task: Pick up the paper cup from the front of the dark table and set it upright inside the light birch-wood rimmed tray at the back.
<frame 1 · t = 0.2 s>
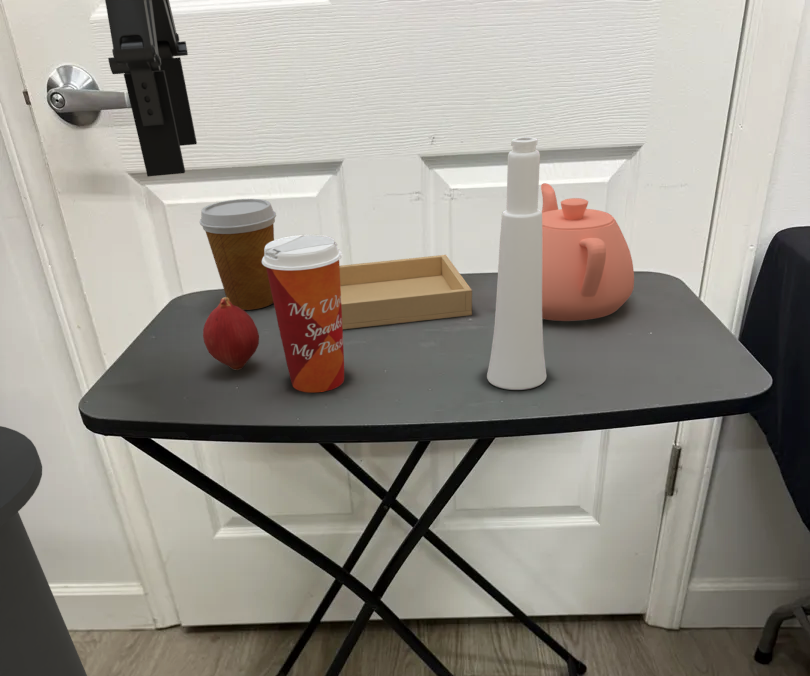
hand: (174, 158, 63), 23 cm above the table, tool pointing down, fingers open, 13 cm apart
cosmetic bottle: (516, 379, 79), on the table
onion: (237, 370, 85), on the table
tray: (384, 303, 100), on the table
teapot: (565, 306, 96), on the table
disposable coffee cup: (252, 303, 103), on the table
paper cup: (318, 382, 81), on the table
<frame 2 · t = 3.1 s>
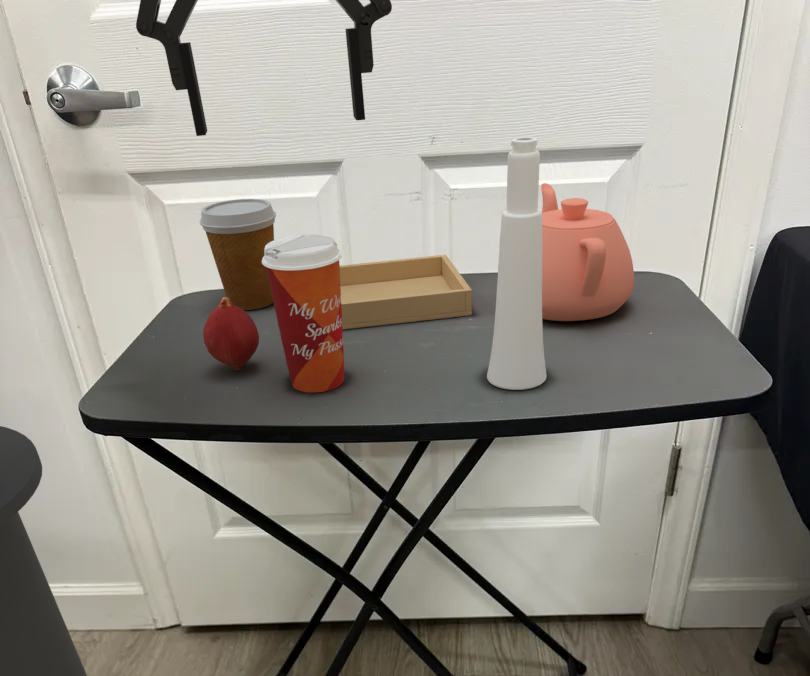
hand: (281, 126, 67), 24 cm above the table, tool pointing down, fingers open, 13 cm apart
nothing on the table moved.
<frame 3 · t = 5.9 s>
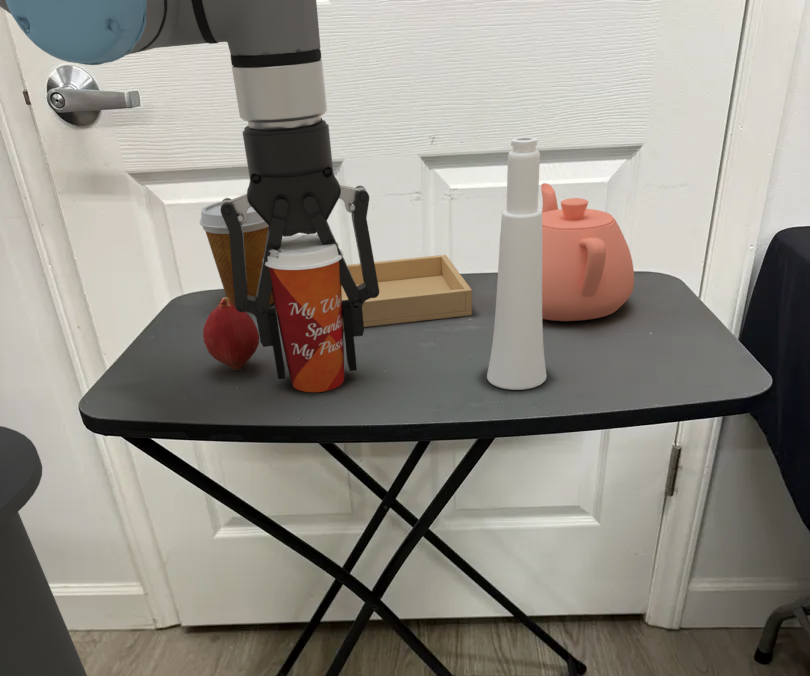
hand: (316, 369, 80), 1 cm above the table, tool pointing down, fingers closed on paper cup, 7 cm apart
paper cup: (318, 382, 81), on the table, touching gripper
everything else where it was.
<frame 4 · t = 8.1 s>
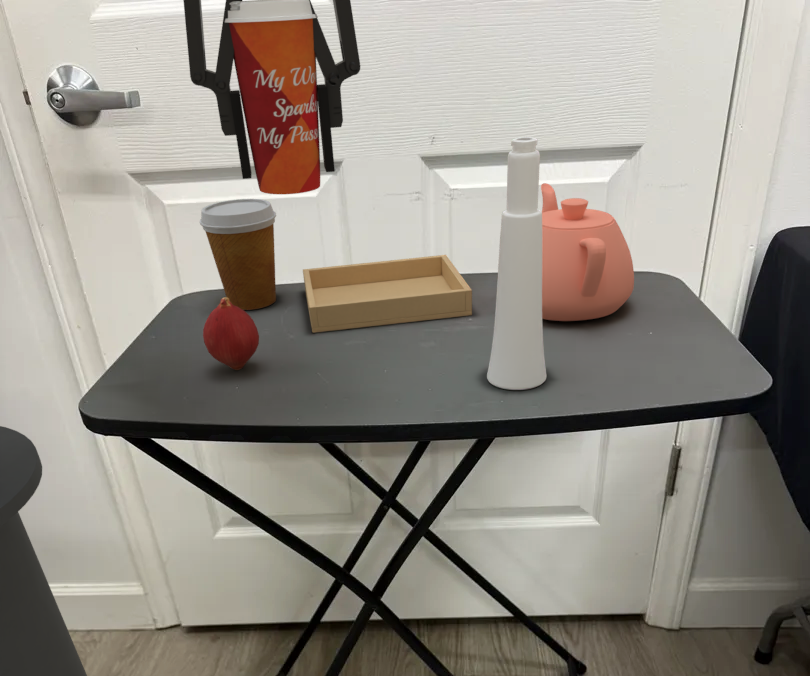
hand: (288, 171, 69), 20 cm above the table, tool pointing down, fingers closed on paper cup, 7 cm apart
paper cup: (290, 189, 70), point 19 cm above the table, touching gripper
everything else where it was.
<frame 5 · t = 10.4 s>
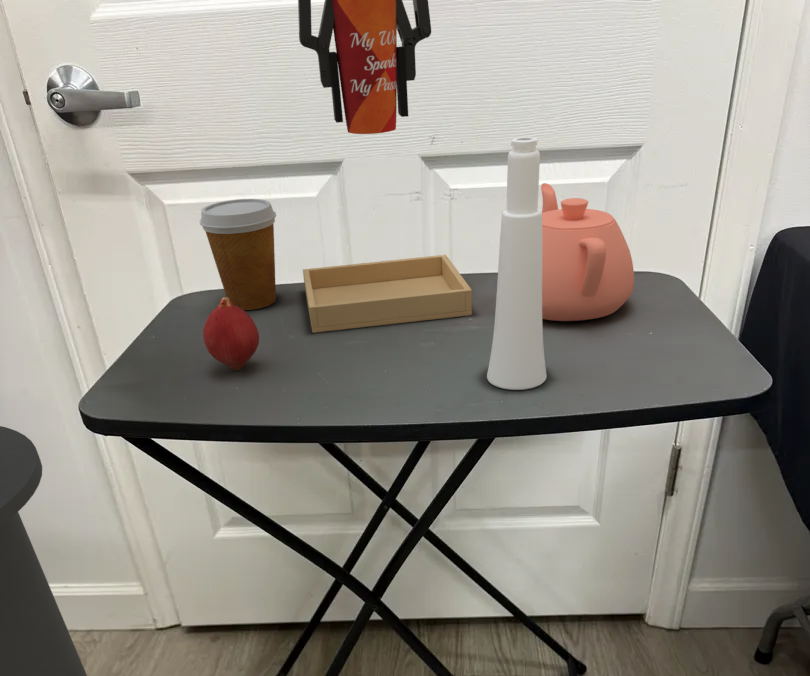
hand: (371, 117, 87), 21 cm above the table, tool pointing down, fingers closed on paper cup, 7 cm apart
paper cup: (372, 131, 88), point 20 cm above the table, touching gripper
everything else where it was.
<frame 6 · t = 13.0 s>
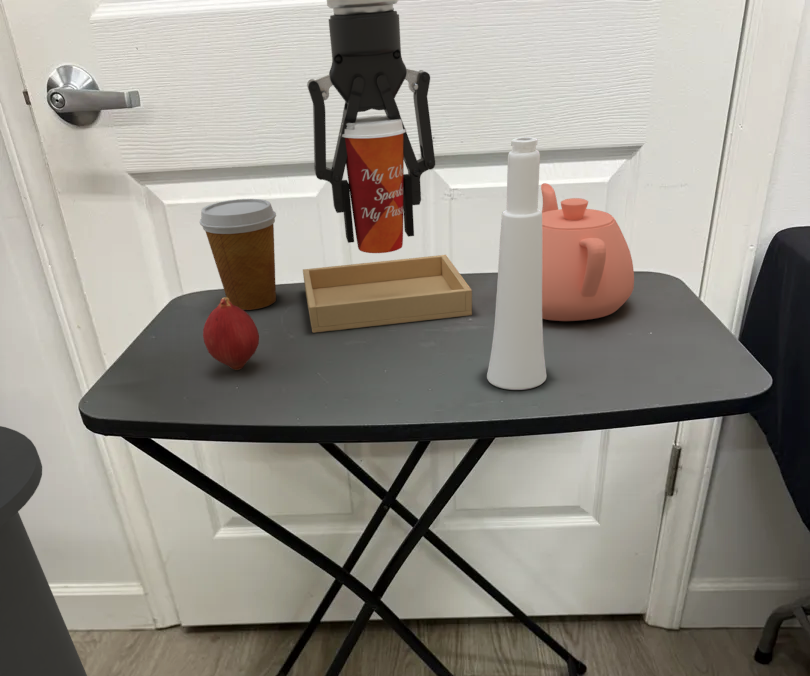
hand: (379, 236, 95), 8 cm above the table, tool pointing down, fingers closed on paper cup, 7 cm apart
paper cup: (380, 248, 96), point 7 cm above the table, touching gripper
everything else where it was.
when the fingers open (2 cm above the table, at t = 14.9 s): paper cup stays where it is, resting on tray.
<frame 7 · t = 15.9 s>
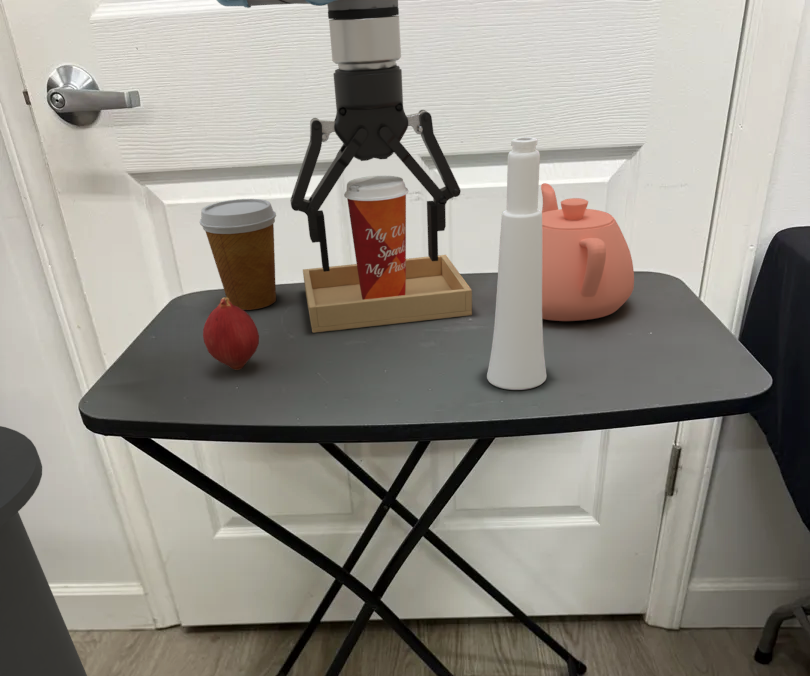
hand: (379, 263, 97), 5 cm above the table, tool pointing down, fingers open, 13 cm apart
paper cup: (384, 300, 99), resting on tray
everything else where it was.
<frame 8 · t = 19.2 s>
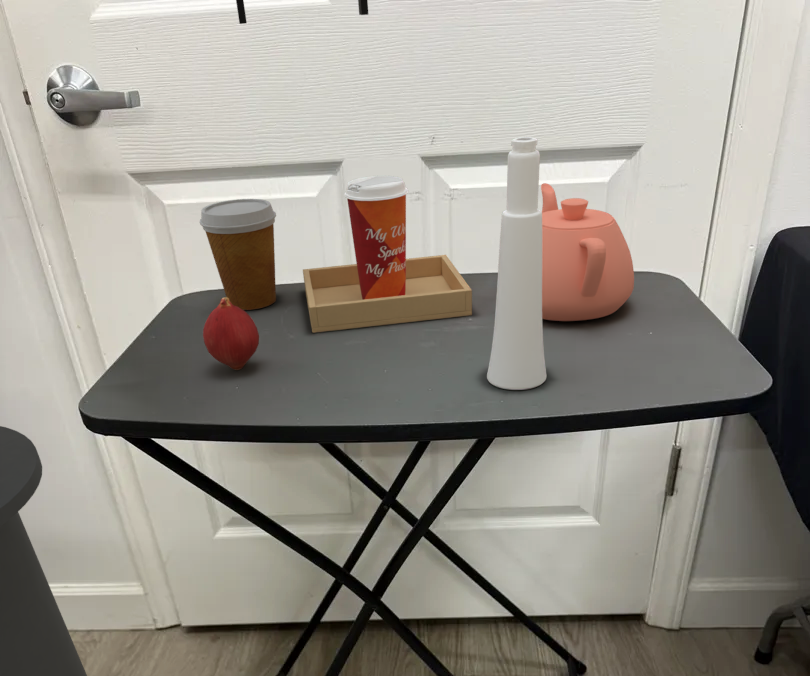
hand: (303, 19, 87), 31 cm above the table, tool pointing down, fingers open, 13 cm apart
nothing on the table moved.
at the end: paper cup inside the target area in the tray (0.0 cm from its centre), point 0.4 cm above the tray's base; paper cup tilted 0°; the gripper is holding nothing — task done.
